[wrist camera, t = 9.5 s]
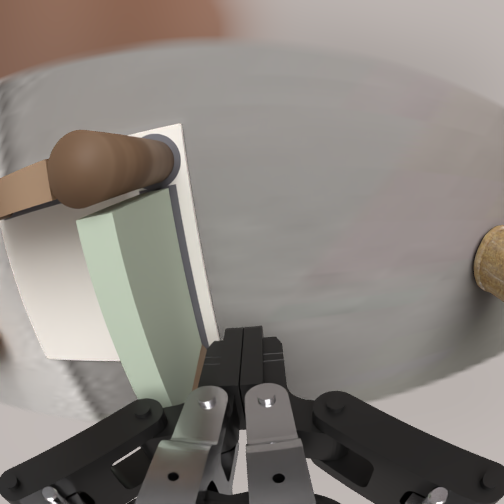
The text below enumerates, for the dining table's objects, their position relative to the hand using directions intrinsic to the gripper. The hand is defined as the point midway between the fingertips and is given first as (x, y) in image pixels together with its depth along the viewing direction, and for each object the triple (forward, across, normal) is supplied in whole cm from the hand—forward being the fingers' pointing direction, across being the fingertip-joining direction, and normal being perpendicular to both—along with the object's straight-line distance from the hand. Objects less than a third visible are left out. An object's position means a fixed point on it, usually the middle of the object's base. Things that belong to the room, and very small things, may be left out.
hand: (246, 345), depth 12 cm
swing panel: (+3, +3, -2) cm, 5 cm away
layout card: (+3, +8, -3) cm, 9 cm away
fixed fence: (+3, +8, -8) cm, 12 cm away
